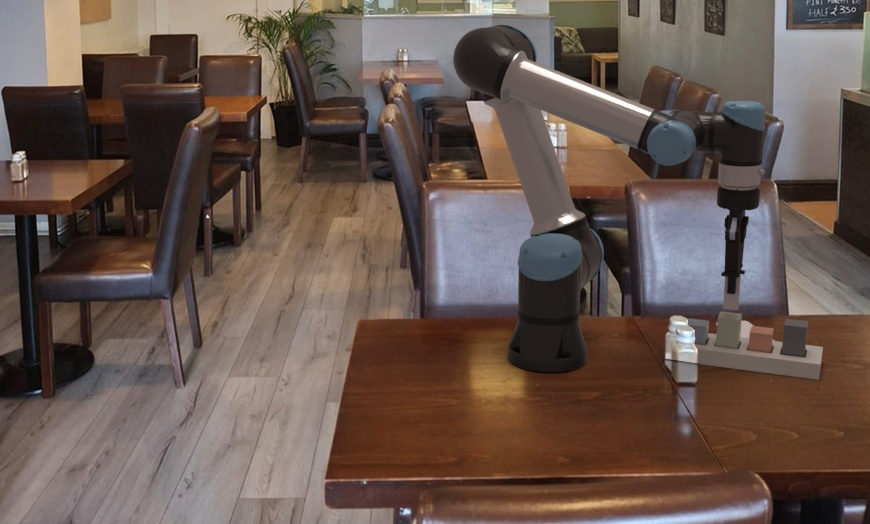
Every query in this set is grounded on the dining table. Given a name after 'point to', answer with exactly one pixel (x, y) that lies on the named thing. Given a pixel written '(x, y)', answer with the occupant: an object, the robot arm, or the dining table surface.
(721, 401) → the dining table surface
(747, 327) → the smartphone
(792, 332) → the key charcoal
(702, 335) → the key slate
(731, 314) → the key sage
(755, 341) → the key terracotta
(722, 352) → the grey block holder
